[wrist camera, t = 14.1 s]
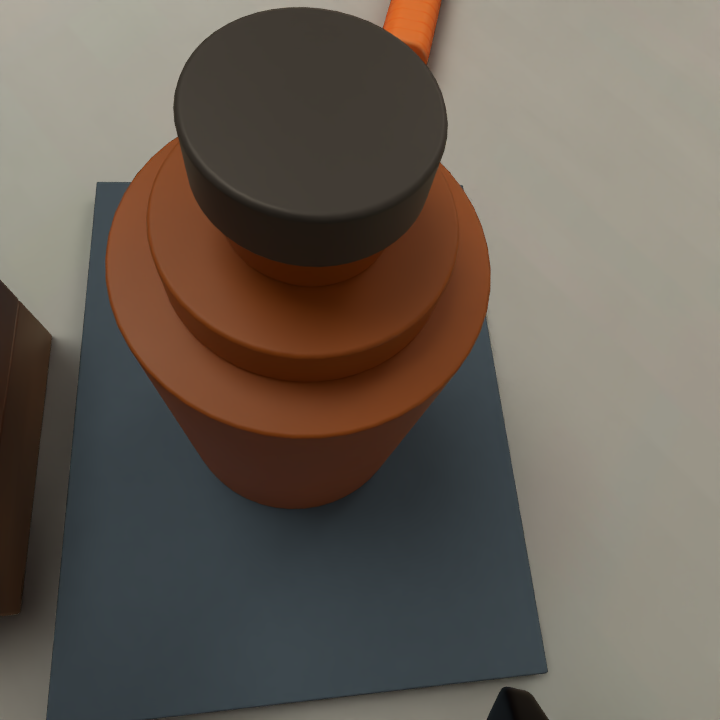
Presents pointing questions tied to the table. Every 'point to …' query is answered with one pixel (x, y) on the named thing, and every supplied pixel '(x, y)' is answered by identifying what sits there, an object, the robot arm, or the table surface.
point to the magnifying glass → (414, 23)
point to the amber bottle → (299, 255)
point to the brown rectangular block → (18, 437)
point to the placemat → (278, 555)
